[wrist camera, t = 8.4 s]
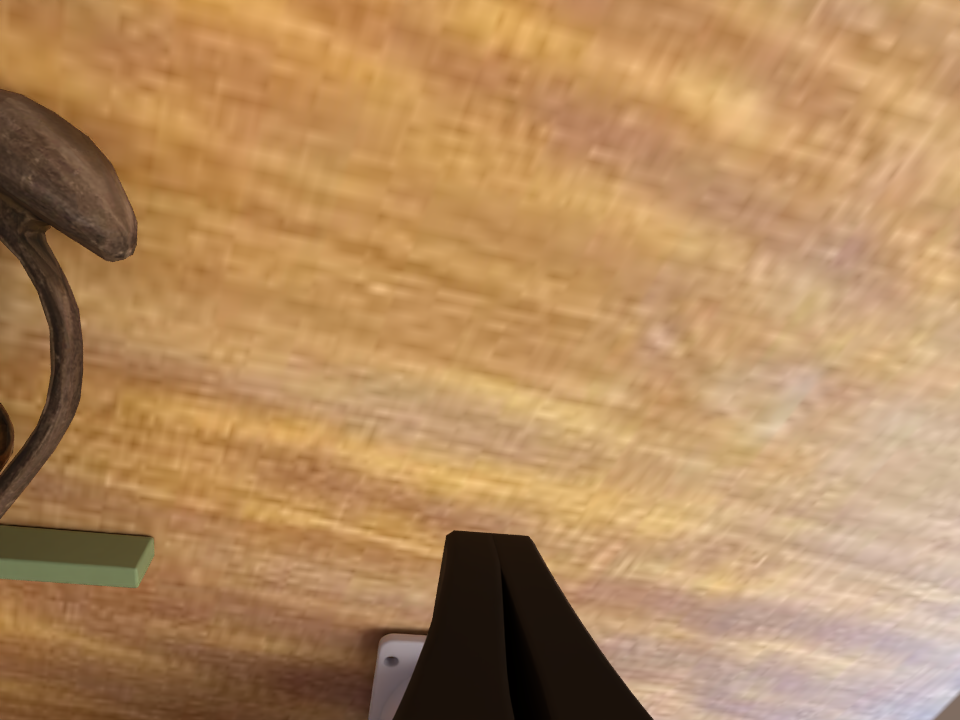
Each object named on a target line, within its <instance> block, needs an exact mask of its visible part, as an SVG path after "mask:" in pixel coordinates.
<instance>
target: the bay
mask: <svg viewBox="0 0 960 720" xmlns="http://www.w3.org/2000/svg"><path fill="white" fill-rule="evenodd" d="M153 557H154V539H153V538H152V537H145V536H132V535H119V534H107V533H94V532H81V531H69V530H56V529H43V528H31V527H18V526H5V525H0V579H12V580H27V581H41V582H55V583H70V584H84V585H99V586H113V587H128V588H137V587H138V586H139V584H140V582H141V580H142V578H143V577H144V575H145V573H146V571H147V569H148V567H149V565H150V563H151V561H152V559H153Z"/></svg>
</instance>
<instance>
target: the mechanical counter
mask: <svg viewBox="0 0 960 720" xmlns="http://www.w3.org/2000/svg"><path fill="white" fill-rule="evenodd" d="M51 226H53V227H54V228H56V229H57V230H59V231H61V232H62V233H64V234H65V235H67V236H68V237H70V238H71V239H73V240H75V241H76V242H78V243H79V244H81V245H82V246H84V247H85V248H87V249H89V250H90V251H92V252H93V253H95V254H96V255H98V256H99V257H101V258H103V259H104V260H106V261H111V262H115V261H119V260H124V259H125V258H127V257H129V256H131V255H133V253H134V250H135V248H136V245H137V220H136V217H135V214H134V211H133V208H132V206H131V204H130V202H129V200H128V198H127V195H126V193H125V191H124V189H123V187H122V185H121V182H120V180H119V178H118V176H117V174H116V172H115V169H114V167H113V165H112V164H111V163H110V161H109V160H108V159H107V158H106V156H105V155H104V154H103V153H102V152H101V151H100V150H99V148H98V147H97V146H96V145H95V144H94V143H93V142H92V140H91V139H90V138H89V137H88V136H86V135H85V134H84V133H82V132H81V131H79V130H78V129H77V128H75V127H74V126H73V125H71V124H70V123H68V122H67V121H66V120H64V119H63V118H62V117H60V116H59V115H57V114H56V113H55V112H53V111H51V110H49V109H47V108H45V107H43V106H42V105H40V104H38V103H36V102H34V101H32V100H31V99H29V98H27V97H25V96H23V95H21V94H17V93H13V92H10V91H6V90H2V89H0V241H1V242H2V243H3V244H4V245H5V246H6V247H7V248H8V249H9V250H10V251H11V252H12V253H13V254H14V255H15V256H16V257H17V258H18V259H19V260H20V262H21V264H22V265H23V267H24V269H25V271H26V272H27V274H28V276H29V278H30V279H31V281H32V283H33V284H34V286H35V288H36V290H37V291H38V295H39V298H40V301H41V304H42V307H43V310H44V313H45V316H46V319H47V322H48V325H49V329H50V354H51V377H50V383H49V388H48V394H47V400H46V404H45V406H44V409H43V411H42V414H41V416H40V419H39V422H38V424H37V426H36V428H35V429H34V431H33V432H32V434H31V435H30V437H29V438H28V440H27V441H26V443H25V444H24V446H23V447H22V448H21V450H20V451H19V452H18V453H17V455H16V456H15V457H14V458H13V460H12V461H11V462H10V463H9V465H8V466H7V467H6V469H5V470H4V471H3V472H2V474H1V475H0V519H1V517H2V516H3V515H4V514H5V512H6V511H7V510H8V509H9V508H10V506H11V505H12V504H13V503H14V501H15V500H16V499H17V498H18V496H19V495H20V494H21V493H22V492H23V490H24V489H25V488H26V487H27V485H28V484H29V483H30V482H31V480H32V479H33V478H34V476H35V475H36V474H37V473H38V471H39V470H40V469H41V467H42V466H43V465H44V463H45V462H46V461H47V459H48V458H49V457H50V456H51V454H52V453H53V452H54V450H55V449H56V447H57V445H58V444H59V442H60V440H61V439H62V437H63V435H64V434H65V432H66V430H67V429H68V427H69V425H70V423H71V421H72V419H73V417H74V416H75V413H76V410H77V407H78V404H79V401H80V396H81V386H82V376H83V340H82V332H81V323H80V314H79V308H78V306H77V303H76V300H75V298H74V295H73V292H72V290H71V287H70V285H69V283H68V281H67V278H66V276H65V274H64V273H63V271H62V269H61V267H60V265H59V263H58V261H57V259H56V257H55V256H54V254H53V252H52V250H51V248H50V247H49V245H48V243H47V241H46V236H45V232H46V231H47V230H48V229H49V228H50V227H51ZM13 446H14V429H13V425H12V422H11V420H10V418H9V415H8V413H7V412H6V410H5V409H4V407H3V405H2V404H1V403H0V471H1V470H2V469H3V467H4V466H5V464H6V463H7V461H8V460H9V458H10V456H11V455H12V453H13Z"/></svg>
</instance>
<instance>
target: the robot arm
mask: <svg viewBox="0 0 960 720" xmlns="http://www.w3.org/2000/svg"><path fill="white" fill-rule="evenodd" d="M391 656H392V657H394V658H389V657H391ZM368 720H653V718H652V717H651V716H650V715H649V714H648V712H647V711H646V710H645V709H644V707H643V706H642V705H641V704H640V702H639V701H638V700H637V699H636V697H635V696H634V695H633V694H632V692H631V691H630V690H629V688H628V687H627V686H626V684H625V683H624V682H623V680H622V679H621V678H620V676H619V675H618V674H617V672H616V671H615V670H614V668H613V667H612V666H611V664H610V663H609V661H608V660H607V659H606V657H605V656H604V654H603V653H602V652H601V650H600V649H599V647H598V646H597V644H596V643H595V641H594V640H593V638H592V637H591V635H590V634H589V632H588V631H587V630H586V628H585V627H584V625H583V624H582V622H581V621H580V619H579V618H578V616H577V615H576V613H575V611H574V610H573V608H572V607H571V605H570V604H569V602H568V600H567V599H566V597H565V596H564V594H563V592H562V591H561V589H560V587H559V586H558V584H557V582H556V581H555V579H554V577H553V576H552V574H551V572H550V571H549V569H548V567H547V565H546V564H545V562H544V560H543V558H542V557H541V555H540V553H539V551H538V550H537V548H536V546H535V544H534V542H533V541H532V540H531V539H530V537H529V536H522V535H508V534H495V533H481V532H468V531H453V532H451V533H450V534H448V535H446V540H445V546H444V552H443V558H442V564H441V570H440V576H439V582H438V588H437V594H436V600H435V606H434V612H433V618H432V622H431V625H430V629H429V632H428V635H413V634H398V633H392V634H387V635H385V636H383V637H382V638H381V639H380V642H379V646H378V653H377V660H376V667H375V674H374V681H373V688H372V695H371V702H370V709H369V716H368Z"/></svg>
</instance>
